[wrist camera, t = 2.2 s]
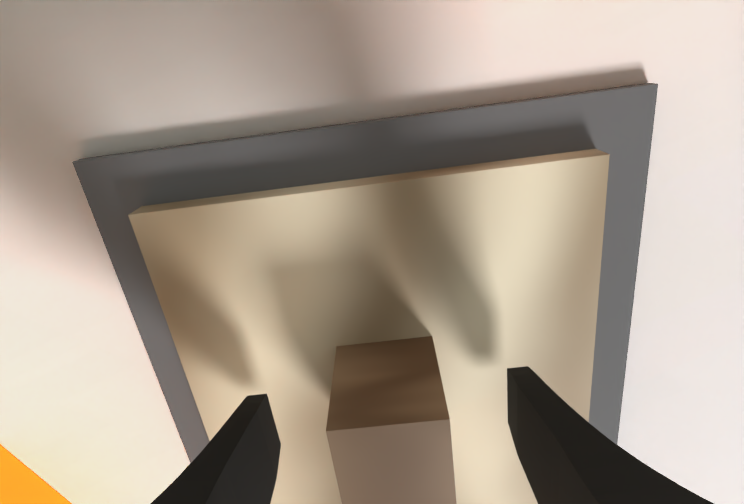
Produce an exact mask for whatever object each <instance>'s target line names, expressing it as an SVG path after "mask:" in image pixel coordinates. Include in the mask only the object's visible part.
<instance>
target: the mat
mask: <svg viewBox="0 0 744 504" xmlns="http://www.w3.org/2000/svg"><path fill="white" fill-rule="evenodd" d="M657 88H658V84H654V83H646V84H639V85H631V86H624V87H616V88H609V89H601V90H594V91H586V92H579V93H571V94H564V95H556V96H549V97H541V98H534V99H526V100H519V101H511V102H504V103H496V104H489V105H481V106H474V107H466V108H459V109H451V110H444V111H436V112H429V113H421V114H414V115H406V116H399V117H391V118H384V119H376V120H369V121H361V122H354V123H346V124H339V125H331V126H324V127H316V128H309V129H301V130H294V131H286V132H279V133H271V134H264V135H256V136H249V137H241V138H234V139H226V140H219V141H211V142H204V143H196V144H189V145H181V146H174V147H166V148H159V149H151V150H144V151H136V152H129V153H121V154H114V155H106V156H99V157H91V158H84V159H79V160H76V161H73V165H74V167H75V170H76V172H77V175H78V177H79V180H80V182H81V185H82V187H83V190H84V193H85V195H86V198H87V200H88V203H89V205H90V208H91V210H92V213H93V215H94V218H95V221H96V223H97V226H98V228H99V231H100V233H101V236H102V238H103V241H104V243H105V246H106V249H107V251H108V254H109V256H110V259H111V261H112V264H113V266H114V269H115V271H116V274H117V277H118V279H119V282H120V284H121V287H122V289H123V292H124V294H125V297H126V299H127V302H128V305H129V307H130V310H131V312H132V315H133V317H134V320H135V322H136V325H137V327H138V330H139V333H140V335H141V338H142V340H143V343H144V345H145V348H146V350H147V353H148V355H149V358H150V361H151V363H152V366H153V368H154V371H155V373H156V376H157V378H158V381H159V383H160V386H161V389H162V391H163V394H164V396H165V399H166V401H167V404H168V406H169V409H170V411H171V414H172V417H173V419H174V422H175V424H176V427H177V429H178V432H179V434H180V437H181V439H182V442H183V445H184V447H185V450H186V452H187V455H188V457H189V460H190V462H192V461H193V460H194V459H195V458H196V457H197V456H198V455H199V454H200V453H201V451H202V450H203V449H204V448H205V447H206V445H207V444H208V443H209V442H210V441H209V438H208V435H207V432H206V429H205V427H204V424H203V421H202V418H201V416H200V413H199V410H198V407H197V405H196V402H195V399H194V396H193V393H192V391H191V388H190V385H189V382H188V380H187V377H186V374H185V371H184V369H183V366H182V363H181V360H180V357H179V355H178V352H177V349H176V346H175V344H174V341H173V338H172V335H171V332H170V330H169V327H168V324H167V321H166V319H165V316H164V313H163V310H162V308H161V305H160V302H159V299H158V296H157V294H156V291H155V288H154V285H153V283H152V280H151V277H150V274H149V272H148V269H147V266H146V263H145V260H144V258H143V255H142V252H141V249H140V247H139V244H138V241H137V238H136V235H135V233H134V230H133V227H132V224H131V222H130V219H129V216H128V215H129V214H130V213H132V212H134V211H135V210H137V209H138V208H140V207H141V206H147V205H155V204H163V203H171V202H179V201H187V200H194V199H202V198H210V197H218V196H226V195H234V194H242V193H250V192H258V191H266V190H273V189H281V188H289V187H297V186H305V185H313V184H321V183H329V182H337V181H344V180H352V179H360V178H368V177H376V176H384V175H392V174H400V173H408V172H416V171H423V170H431V169H439V168H447V167H455V166H463V165H471V164H479V163H487V162H494V161H502V160H510V159H518V158H526V157H534V156H542V155H550V154H558V153H566V152H573V151H581V150H589V149H598V150H600V151H603V152H605V153H607V154H610V156H609V169H608V181H607V194H606V207H605V220H604V232H603V245H602V258H601V271H600V283H599V296H598V309H597V322H596V334H595V347H594V360H593V373H592V385H591V398H590V411H589V423H590V424H591V425H592V426H594V427H595V428H596V429H597V430H599V431H600V432H601V433H602V434H604V435H605V436H606V437H607V438H609V439H610V440H611V441H613V442H614V443H615V444H616V445H617V440H618V431H619V422H620V413H621V404H622V396H623V387H624V378H625V369H626V360H627V352H628V343H629V334H630V325H631V316H632V308H633V299H634V290H635V281H636V272H637V264H638V255H639V246H640V237H641V228H642V220H643V211H644V202H645V193H646V184H647V176H648V167H649V158H650V149H651V140H652V132H653V123H654V114H655V105H656V96H657Z"/></svg>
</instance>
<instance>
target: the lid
mask: <svg viewBox="0 0 744 504" xmlns="http://www.w3.org/2000/svg"><path fill="white" fill-rule="evenodd" d="M609 156H610V154H607V153H605V152H603V151H600V150H598V149H589V150H581V151H573V152H566V153H558V154H550V155H542V156H534V157H526V158H518V159H510V160H502V161H494V162H487V163H479V164H471V165H463V166H455V167H447V168H439V169H431V170H423V171H416V172H408V173H400V174H392V175H384V176H376V177H368V178H360V179H352V180H344V181H337V182H329V183H321V184H313V185H305V186H297V187H289V188H281V189H273V190H266V191H258V192H250V193H242V194H234V195H226V196H218V197H210V198H202V199H194V200H187V201H179V202H171V203H163V204H155V205H147V206H141V207H140V208H138V209H137V210H135V211H134V212H132V213H130V214H129V215H128V216H129V219H130V222H131V224H132V227H133V230H134V233H135V235H136V238H137V241H138V244H139V247H140V249H141V252H142V255H143V258H144V260H145V263H146V266H147V269H148V272H149V274H150V277H151V280H152V283H153V285H154V288H155V291H156V294H157V296H158V299H159V302H160V305H161V308H162V310H163V313H164V316H165V319H166V321H167V324H168V327H169V330H170V332H171V335H172V338H173V341H174V344H175V346H176V349H177V352H178V355H179V357H180V360H181V363H182V366H183V369H184V371H185V374H186V377H187V380H188V382H189V385H190V388H191V391H192V393H193V396H194V399H195V402H196V405H197V407H198V410H199V413H200V416H201V418H202V421H203V424H204V427H205V429H206V432H207V435H208V438H209V441H211V439H212V438H213V437H214V436H215V435H216V433H217V432H218V431H219V430H220V429H221V427H222V426H223V425H224V424H225V422H226V421H227V420H228V419H229V417H230V416H231V415H232V414H233V412H234V411H235V410H236V409H237V407H238V406H239V405H240V404H241V403H242V401H243V400H244V399H245V398H246V397H247V396H249V395H258V394H267V396H268V399H269V403H270V407H271V410H272V414H273V417H274V421H275V425H276V428H277V432H278V435H279V439H280V442H281V449H280V457H279V465H278V472H277V479H276V483H275V487H274V491H273V495H272V499H271V503H270V504H538V503H537V500H536V498H535V496H534V493H533V491H532V488H531V486H530V484H529V481H528V479H527V477H526V474H525V472H524V470H523V467H522V465H521V462H520V460H519V457H518V455H517V452H516V448H515V445H514V442H513V439H512V435H511V432H510V428H509V425H508V407H507V368H516V367H525V366H528V367H530V368H531V369H532V370H533V371H534V372H535V373H536V374H537V375H538V376H539V377H540V378H541V379H542V380H543V381H544V382H545V383H546V384H547V385H548V386H549V387H550V388H551V389H552V390H553V391H554V392H555V393H556V394H557V395H558V396H559V397H561V398H562V399H563V400H564V401H565V402H566V403H567V404H568V405H569V406H570V407H572V408H573V409H574V410H575V411H576V412H577V413H578V414H579V415H581V416H582V417H583V418H584V419H585V420H586V421H588V422H589V411H590V398H591V385H592V373H593V360H594V347H595V334H596V322H597V309H598V296H599V283H600V271H601V258H602V245H603V232H604V220H605V207H606V194H607V181H608V169H609Z"/></svg>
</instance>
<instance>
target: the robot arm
mask: <svg viewBox="0 0 744 504" xmlns="http://www.w3.org/2000/svg"><path fill="white" fill-rule="evenodd" d="M507 407H508V425H509V428H510V432H511V435H512V439H513V442H514V445H515V448H516V452H517V455H518V457H519V460H520V462H521V465H522V467H523V470H524V472H525V474H526V477H527V479H528V481H529V484H530V486H531V488H532V491H533V493H534V496H535V498H536V500H537V503H538V504H713V503H711V502H709V501H708V500H706V499H704V498H702V497H700V496H698V495H696V494H694V493H693V492H691V491H689V490H687V489H685V488H683V487H682V486H680V485H678V484H677V483H675V482H673V481H672V480H670V479H668V478H667V477H665V476H663V475H662V474H660V473H658V472H656V471H655V470H653V469H652V468H650V467H649V466H647V465H645V464H644V463H642V462H641V461H639V460H638V459H636V458H635V457H634V456H632V455H631V454H629V453H628V452H626V451H625V450H623V449H622V448H621V447H619V446H618V445H616V444H615V443H614V442H613V441H611V440H610V439H609V438H607V437H606V436H605V435H604V434H602V433H601V432H600V431H599V430H597V429H596V428H595V427H594V426H592V425H591V424H590V423H589V422H588V421H586V420H585V419H584V418H583V417H582V416H581V415H579V414H578V413H577V412H576V411H575V410H574V409H573V408H572V407H570V406H569V405H568V404H567V403H566V402H565V401H564V400H563V399H562V398H561V397H559V396H558V395H557V394H556V393H555V392H554V391H553V390H552V389H551V388H550V387H549V386H548V385H547V384H546V383H545V382H544V381H543V380H542V379H541V378H540V377H539V376H538V375H537V374H536V373H535V372H534V371H533V370H532V369H531V368H530V367H528V366H525V367H516V368H507ZM280 449H281V442H280V439H279V435H278V432H277V428H276V425H275V421H274V417H273V414H272V410H271V407H270V403H269V399H268V396H267V394H258V395H249V396H247V397H246V398H245V399H244V400H243V401H242V403H241V404H240V405H239V406H238V407H237V409H236V410H235V411H234V412H233V414H232V415H231V416H230V417H229V419H228V420H227V421H226V422H225V424H224V425H223V426H222V427H221V429H220V430H219V431H218V432H217V433H216V435H215V436H214V437H213V438H212V439H211V441H210V442H209V443H208V444H207V445H206V447H205V448H204V449H203V450H202V451H201V453H200V454H199V455H198V456H197V457H196V458H195V459H194V460H193V461H192V462H191V464H190V465H189V466H188V467H187V468H186V469H185V470H184V471H183V472H182V473H181V475H180V476H179V477H178V478H177V479H176V480H175V481H174V482H173V483H172V484H171V485H170V486H169V487H168V488H167V489H166V490H165V491H164V492H163V493H161V494H160V495H159V496H158V497H157V498H156V499H155V500H154V501H153V502H152V503H151V504H270V503H271V499H272V495H273V491H274V487H275V483H276V479H277V472H278V465H279V457H280Z"/></svg>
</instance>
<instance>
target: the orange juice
mask: <svg viewBox="0 0 744 504" xmlns="http://www.w3.org/2000/svg"><path fill="white" fill-rule="evenodd" d="M0 504H71V503H70V502H69V501H68V500H66V499H65V498H64V497H63V496H62V495H60V494H59V493H58V492H57V491H56V490H54V489H53V488H52V487H51V486H50V485H48V484H47V483H46V482H45V481H44V480H42V479H41V478H40V477H39V476H37V475H36V474H35V473H34V472H33V471H31V470H30V469H29V468H28V467H27V466H25V465H24V464H23V463H22V462H21V461H19V460H18V459H17V458H16V457H15V456H13V455H12V454H11V453H10V452H8V451H7V450H6V449H5V448H4V447H2V446H1V445H0Z"/></svg>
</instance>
